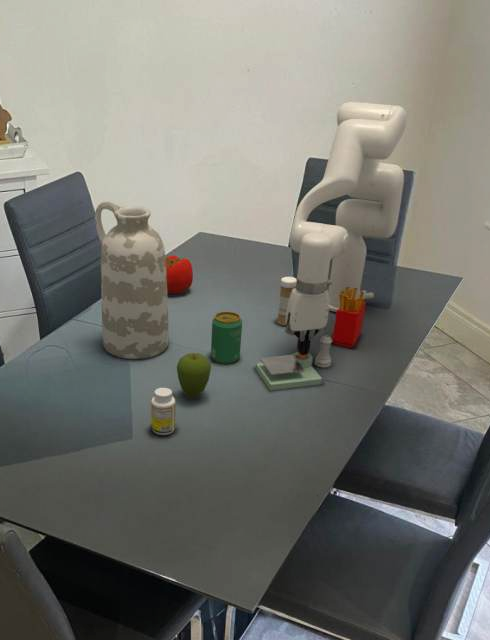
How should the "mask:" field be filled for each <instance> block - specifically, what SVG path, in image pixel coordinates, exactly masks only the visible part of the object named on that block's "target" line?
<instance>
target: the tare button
mask: <svg viewBox="0 0 490 640" xmlns="http://www.w3.org/2000/svg"><path fill="white" fill-rule="evenodd" d="M297 358H298V359H302V360H304V359H307V355H305V354H304V355H301V354H300V352H299V351H298V355H297Z"/></svg>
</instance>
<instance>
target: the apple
mask: <svg viewBox="0 0 490 640" xmlns="http://www.w3.org/2000/svg"><path fill="white" fill-rule="evenodd" d="M211 365H212V364H211V363H210V360H209V359H208V358H207V357H206V356H205V355H204V354H202V353H199V352H191V353H187V354H184V355H183V356H181V357H180V358H179V360H178V362H177V365H176V372H177V379H178V381H179V385H180V389H181V390H182V392H183V393H184V395H186V397H187V398H189V399H195V398H197V397H199V396H200V395H201V394H202V393H203V392H204V391H205V389H206V387H207V385H208V382H209V380H210V375H211V370H212V366H211Z"/></svg>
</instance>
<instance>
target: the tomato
mask: <svg viewBox="0 0 490 640" xmlns="http://www.w3.org/2000/svg"><path fill="white" fill-rule="evenodd" d="M165 259H166V276H167V294H169V295H179V294H180V295H181V294H183V293H184V292H185V291H186V290H189V288H190V287H191V286H192V285H193V279H194V274H193V273H194V272H193V266H192V263H191V261H190V259H188V258H185V257H182V258H181V257H178V256H177V255H172V254H171V255H169V256H168V257H166V256H165Z"/></svg>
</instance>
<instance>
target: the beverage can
mask: <svg viewBox="0 0 490 640" xmlns="http://www.w3.org/2000/svg"><path fill="white" fill-rule="evenodd" d="M242 331H243V320H242V318H241V315H240V314H239V313H237V312H233V311H219V312H217V313H216V314H215V315H214V317H213V318H212V321H211V339H210V340H211V342H210V357H211V358H212V360H213V361H214V362H216V363H218V364H223V365H229V364H233V363H236V362H237V361H238V360H239V358H240V357H241V345H242Z"/></svg>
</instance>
